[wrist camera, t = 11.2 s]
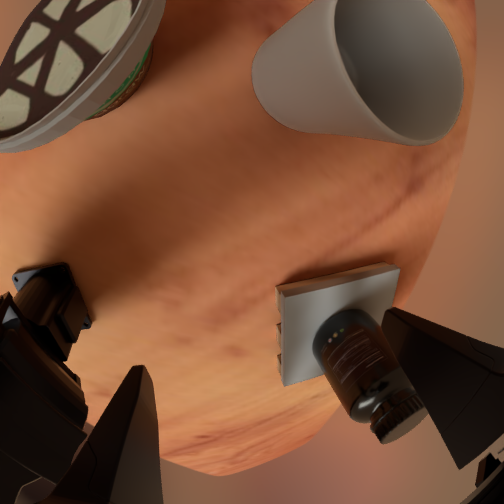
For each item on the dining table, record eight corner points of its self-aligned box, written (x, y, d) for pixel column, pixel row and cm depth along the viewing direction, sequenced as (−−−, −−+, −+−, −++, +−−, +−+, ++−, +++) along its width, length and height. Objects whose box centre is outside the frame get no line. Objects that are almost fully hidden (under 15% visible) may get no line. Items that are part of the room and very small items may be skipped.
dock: (277, 370, 29) (284, 386, 27) (275, 281, 24) (284, 297, 22) (367, 341, 31) (377, 354, 29) (385, 257, 26) (400, 268, 24)
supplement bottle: (378, 323, 26) (446, 402, 16) (331, 366, 27) (384, 452, 17) (351, 292, 23) (437, 388, 13) (295, 343, 24) (355, 452, 14)
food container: (105, 170, 17) (41, 212, 8) (43, 134, 14) (-46, 150, 5) (208, 28, 14) (235, -48, 5) (141, -6, 11) (121, -85, 3)
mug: (334, 149, 20) (443, 179, 10) (232, 107, 17) (293, 83, 7) (374, 34, 16) (474, 13, 6) (287, -15, 13) (364, -83, 3)
